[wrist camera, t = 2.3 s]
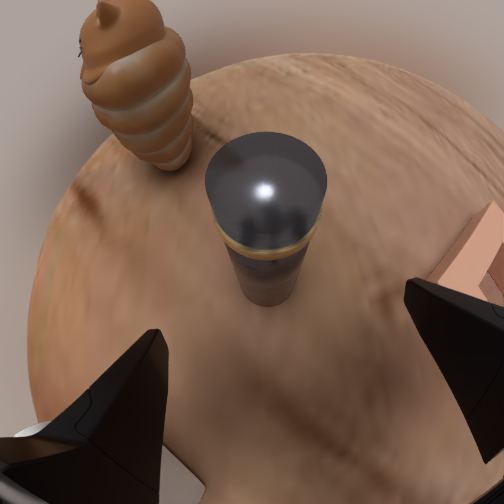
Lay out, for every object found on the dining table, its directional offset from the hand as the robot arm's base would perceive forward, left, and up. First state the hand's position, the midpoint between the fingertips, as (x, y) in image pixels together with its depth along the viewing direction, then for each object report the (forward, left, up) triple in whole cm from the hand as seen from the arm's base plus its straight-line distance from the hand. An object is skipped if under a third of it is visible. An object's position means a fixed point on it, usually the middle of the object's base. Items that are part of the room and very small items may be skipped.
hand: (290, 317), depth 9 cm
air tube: (+2, +4, -11) cm, 12 cm away
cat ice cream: (+2, +19, -11) cm, 22 cm away
